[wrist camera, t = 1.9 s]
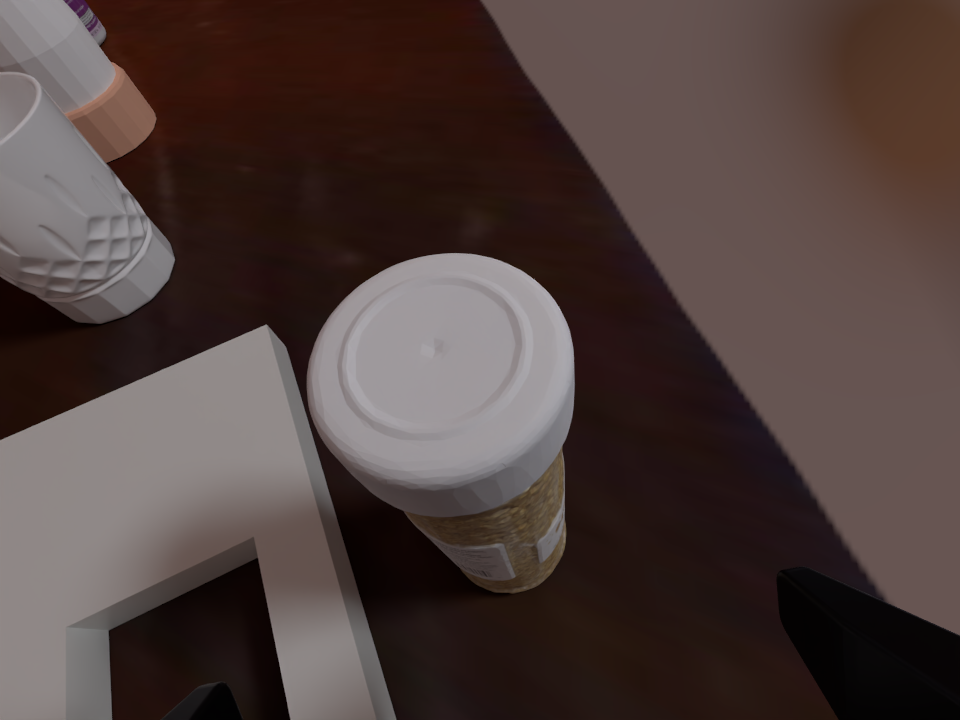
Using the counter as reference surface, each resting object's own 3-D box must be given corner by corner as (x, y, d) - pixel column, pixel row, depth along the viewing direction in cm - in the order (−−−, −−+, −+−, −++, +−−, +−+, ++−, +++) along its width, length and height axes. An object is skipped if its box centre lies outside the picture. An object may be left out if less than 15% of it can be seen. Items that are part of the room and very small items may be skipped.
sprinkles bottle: (591, 542, 19) (640, 360, 8) (494, 624, 18) (384, 555, 7) (515, 451, 21) (465, 204, 10) (425, 520, 20) (253, 335, 9)
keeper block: (430, 835, 15) (414, 856, 14) (-274, 1240, 13) (-398, 1325, 11) (286, 347, 26) (266, 324, 24) (-125, 528, 23) (-178, 517, 22)
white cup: (122, 350, 27) (-78, 206, 19) (26, 315, 29) (-192, 172, 21) (212, 243, 30) (77, 79, 22) (118, 219, 33) (-36, 63, 24)
